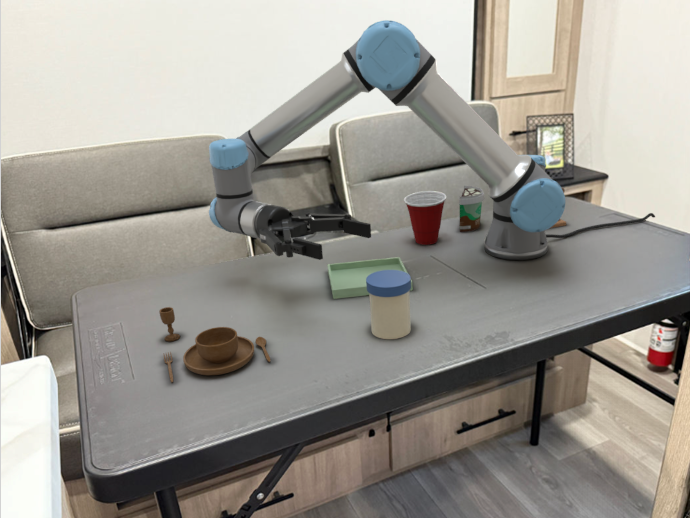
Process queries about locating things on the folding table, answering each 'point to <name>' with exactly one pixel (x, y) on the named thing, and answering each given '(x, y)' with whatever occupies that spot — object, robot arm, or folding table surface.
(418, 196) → the plastic cup
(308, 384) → the folding table surface
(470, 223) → the food container
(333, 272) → the tray
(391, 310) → the jar
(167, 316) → the place setting
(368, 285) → the lid
